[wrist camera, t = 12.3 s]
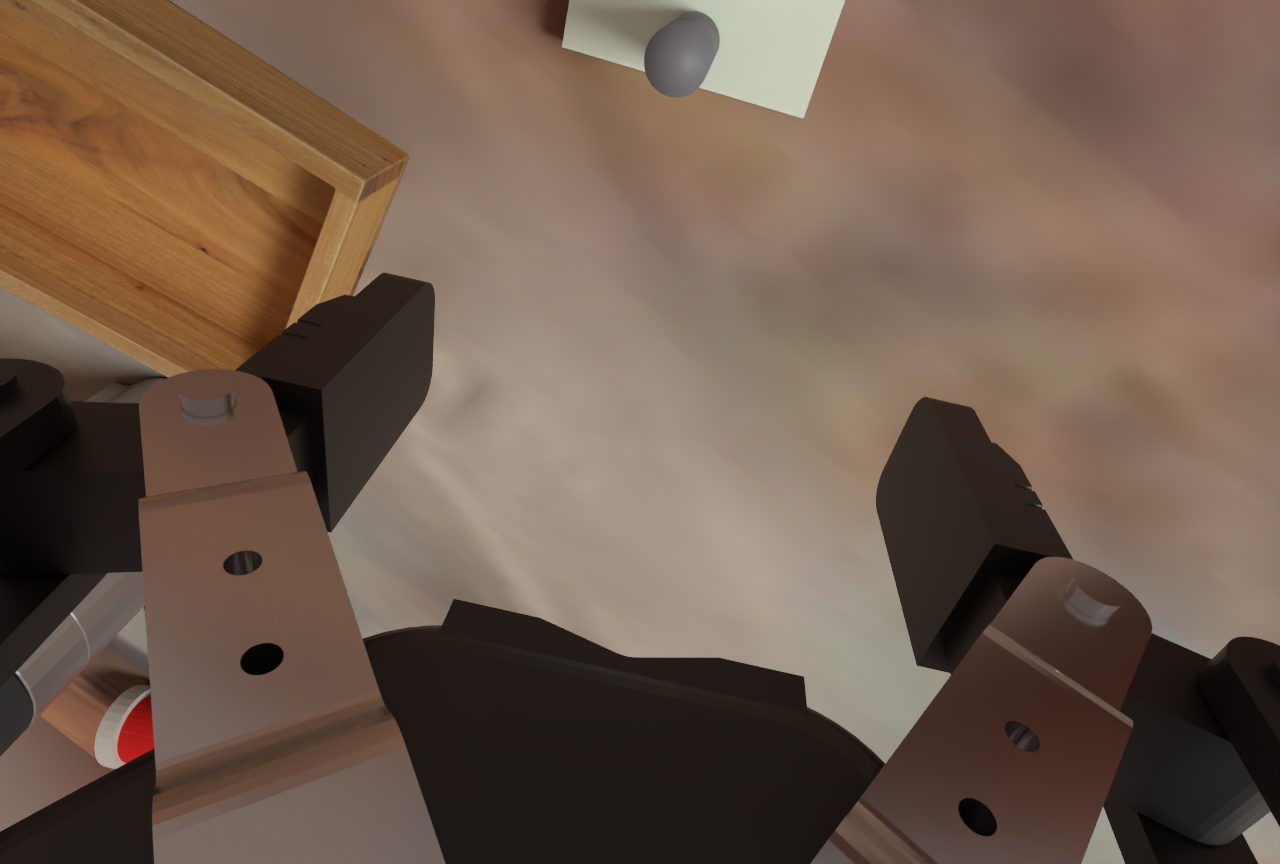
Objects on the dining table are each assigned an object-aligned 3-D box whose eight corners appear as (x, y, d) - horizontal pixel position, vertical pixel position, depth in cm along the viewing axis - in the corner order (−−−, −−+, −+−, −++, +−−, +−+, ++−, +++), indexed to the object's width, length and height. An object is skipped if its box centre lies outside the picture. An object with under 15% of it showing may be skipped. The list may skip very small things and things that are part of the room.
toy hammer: (68, 516, 51) (-13, 581, 45) (225, 541, 50) (161, 610, 44) (162, 714, 63) (107, 783, 58) (288, 737, 62) (245, 808, 57)
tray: (416, 153, 33) (360, 184, 29) (320, 382, 41) (263, 436, 37) (-303, -316, 28) (-523, -374, 23) (-255, 56, 35) (-410, 70, 31)
